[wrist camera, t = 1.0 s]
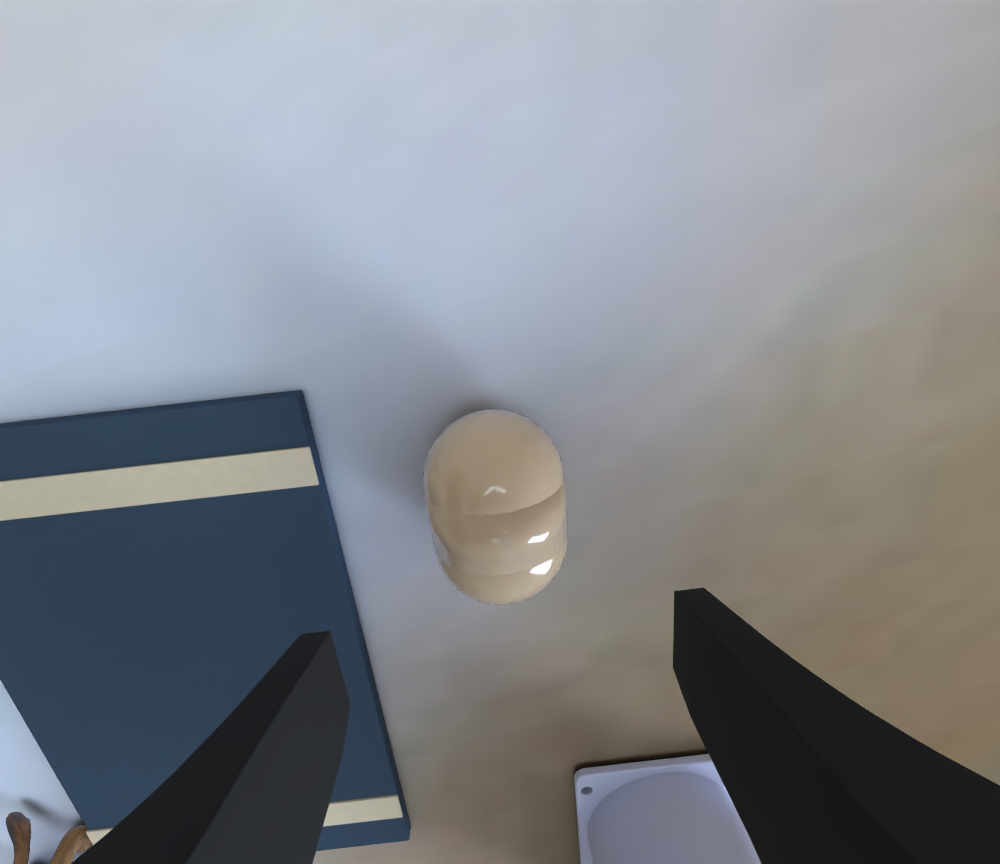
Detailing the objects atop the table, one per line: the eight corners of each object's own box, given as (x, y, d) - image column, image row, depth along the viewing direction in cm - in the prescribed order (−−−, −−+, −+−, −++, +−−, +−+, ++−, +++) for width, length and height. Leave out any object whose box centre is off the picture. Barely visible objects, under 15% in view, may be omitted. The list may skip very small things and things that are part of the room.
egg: (560, 546, 20) (583, 627, 16) (446, 559, 20) (438, 643, 16) (549, 385, 18) (571, 430, 13) (419, 399, 18) (403, 449, 13)
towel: (410, 827, 25) (409, 843, 24) (121, 860, 25) (111, 877, 24) (302, 389, 17) (295, 395, 17) (-118, 436, 17) (-142, 444, 17)
